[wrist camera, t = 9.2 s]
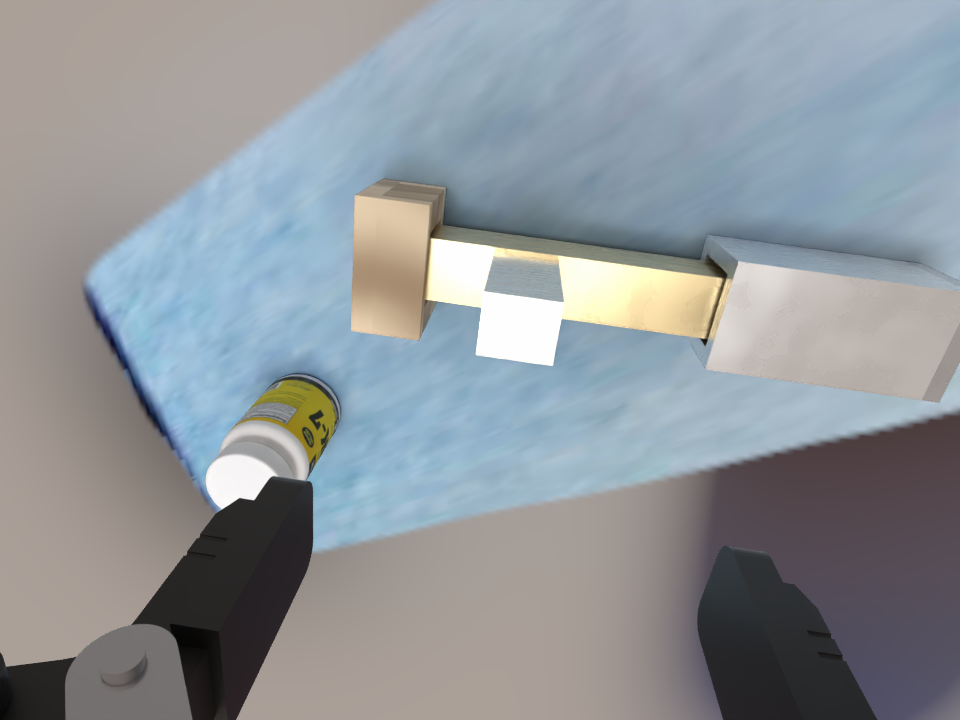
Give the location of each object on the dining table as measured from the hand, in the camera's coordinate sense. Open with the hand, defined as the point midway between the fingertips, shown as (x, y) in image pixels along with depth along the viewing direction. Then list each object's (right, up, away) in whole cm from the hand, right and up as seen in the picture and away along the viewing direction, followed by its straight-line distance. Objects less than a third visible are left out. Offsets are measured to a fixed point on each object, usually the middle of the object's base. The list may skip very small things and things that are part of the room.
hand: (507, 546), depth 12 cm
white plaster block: (+16, +7, +20) cm, 26 cm away
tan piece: (+4, +8, +19) cm, 21 cm away
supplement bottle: (-11, +1, +25) cm, 28 cm away
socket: (-4, +10, +20) cm, 23 cm away
